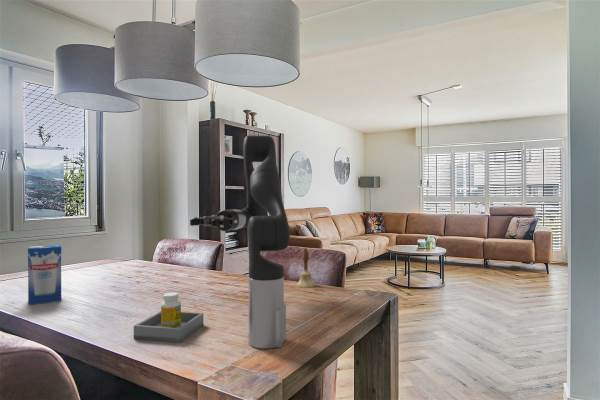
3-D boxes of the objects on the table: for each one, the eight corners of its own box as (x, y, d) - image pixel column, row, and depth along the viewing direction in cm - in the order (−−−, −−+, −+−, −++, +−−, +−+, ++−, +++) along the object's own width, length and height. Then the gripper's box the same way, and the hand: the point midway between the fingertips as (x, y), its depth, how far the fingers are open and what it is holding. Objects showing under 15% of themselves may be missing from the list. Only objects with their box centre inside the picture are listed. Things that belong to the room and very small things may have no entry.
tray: (203, 324, 109) (203, 313, 109) (179, 342, 96) (179, 329, 96) (162, 321, 112) (162, 310, 112) (133, 338, 98) (133, 325, 98)
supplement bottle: (165, 324, 106) (164, 291, 106) (183, 324, 107) (183, 291, 106) (158, 331, 101) (157, 296, 101) (177, 331, 101) (177, 296, 101)
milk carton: (27, 305, 129) (27, 248, 129) (29, 301, 134) (28, 246, 134) (61, 300, 135) (61, 246, 135) (61, 296, 140) (61, 244, 140)
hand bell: (294, 287, 155) (294, 249, 155) (298, 282, 163) (298, 247, 163) (314, 288, 153) (314, 250, 153) (316, 283, 161) (316, 247, 161)
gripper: (214, 209, 135) (184, 210, 120) (247, 209, 129) (219, 211, 114) (214, 229, 135) (184, 233, 120) (247, 231, 129) (219, 235, 114)
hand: (201, 222), depth 117 cm, fingers open, 8 cm apart
